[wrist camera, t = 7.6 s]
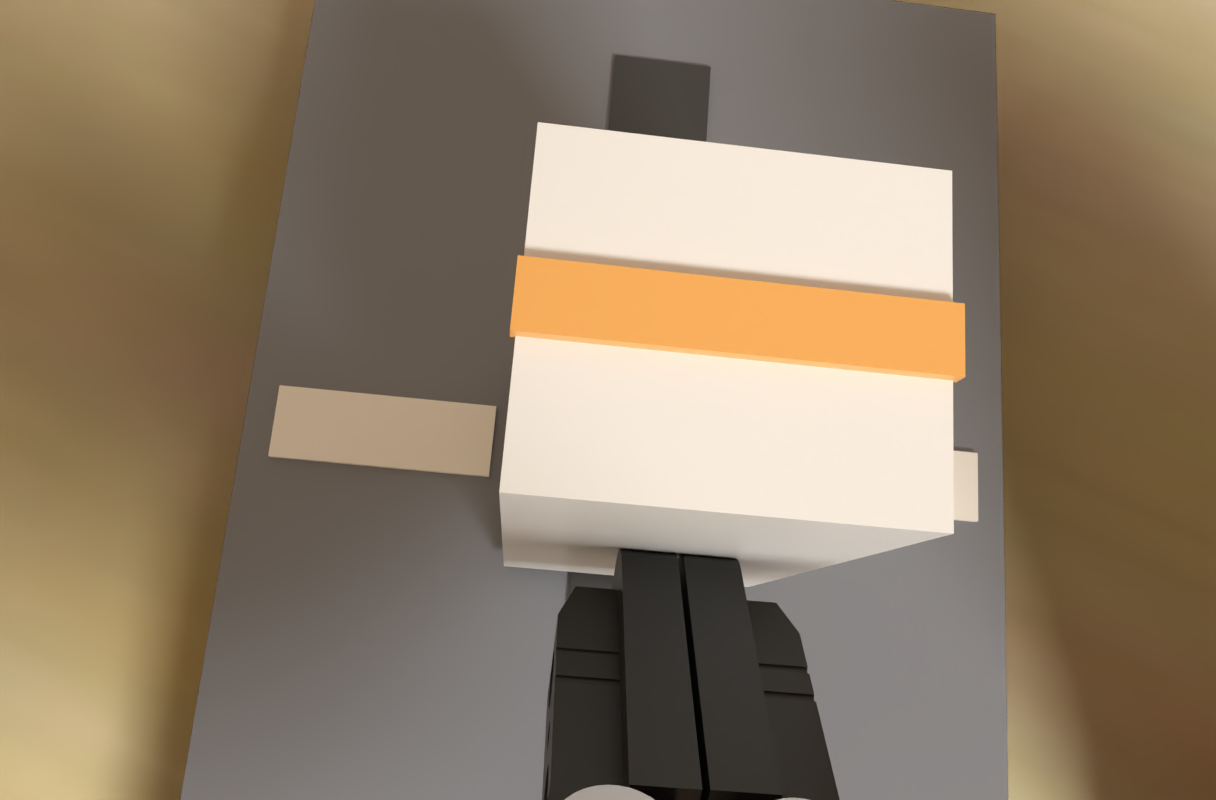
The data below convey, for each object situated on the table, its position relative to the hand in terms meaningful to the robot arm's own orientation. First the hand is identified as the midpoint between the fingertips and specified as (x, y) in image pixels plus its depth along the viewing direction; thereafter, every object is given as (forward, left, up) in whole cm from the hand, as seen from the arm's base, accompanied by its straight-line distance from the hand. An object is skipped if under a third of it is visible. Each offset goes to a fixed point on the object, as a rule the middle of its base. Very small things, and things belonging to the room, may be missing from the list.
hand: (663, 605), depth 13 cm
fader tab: (0, -2, -3) cm, 4 cm away
